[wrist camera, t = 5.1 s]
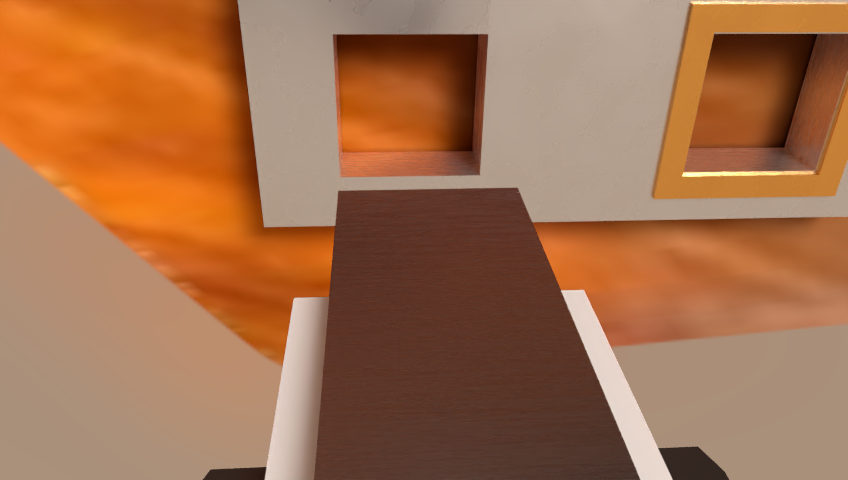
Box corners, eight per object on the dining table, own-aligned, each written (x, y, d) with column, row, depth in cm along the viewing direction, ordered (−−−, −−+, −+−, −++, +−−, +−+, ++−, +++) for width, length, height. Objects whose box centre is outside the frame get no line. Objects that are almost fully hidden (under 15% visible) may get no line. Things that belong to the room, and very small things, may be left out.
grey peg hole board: (245, -43, 26) (232, -31, 23) (917, -39, 27) (968, -28, 25) (271, 199, 31) (263, 229, 28) (837, 190, 32) (873, 218, 30)
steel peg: (338, 190, 15) (288, 776, 6) (517, 187, 16) (750, 743, 6) (345, 334, 17) (319, 941, 8) (504, 329, 18) (663, 910, 8)
